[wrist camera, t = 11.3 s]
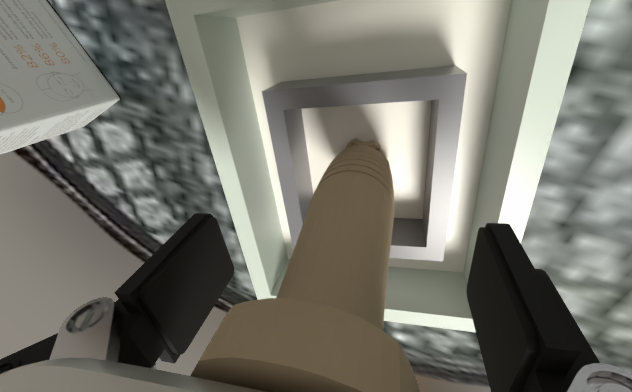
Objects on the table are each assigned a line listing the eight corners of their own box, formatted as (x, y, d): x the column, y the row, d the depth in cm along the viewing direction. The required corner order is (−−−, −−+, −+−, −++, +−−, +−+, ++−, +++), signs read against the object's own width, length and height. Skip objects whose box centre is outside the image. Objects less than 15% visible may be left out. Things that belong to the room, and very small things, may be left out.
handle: (324, 198, 20) (215, 471, 8) (327, 106, 17) (148, 330, 5) (393, 207, 20) (393, 533, 7) (411, 112, 16) (469, 412, 4)
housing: (224, -3, 17) (160, -14, 12) (541, -63, 13) (623, -113, 8) (283, 256, 27) (259, 304, 22) (474, 271, 22) (494, 334, 18)
